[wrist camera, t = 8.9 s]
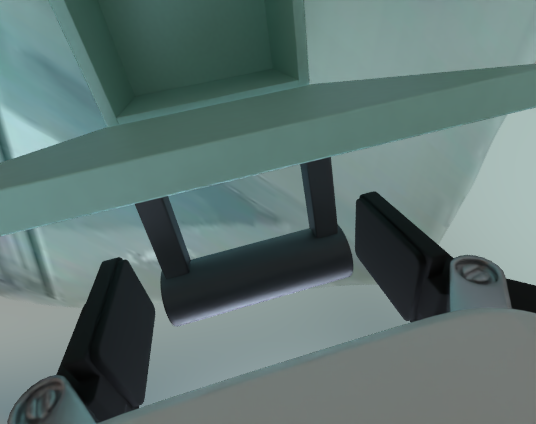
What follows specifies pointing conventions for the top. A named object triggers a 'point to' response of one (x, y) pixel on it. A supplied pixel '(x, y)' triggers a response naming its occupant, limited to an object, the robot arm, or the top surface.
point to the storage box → (183, 52)
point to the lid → (247, 173)
